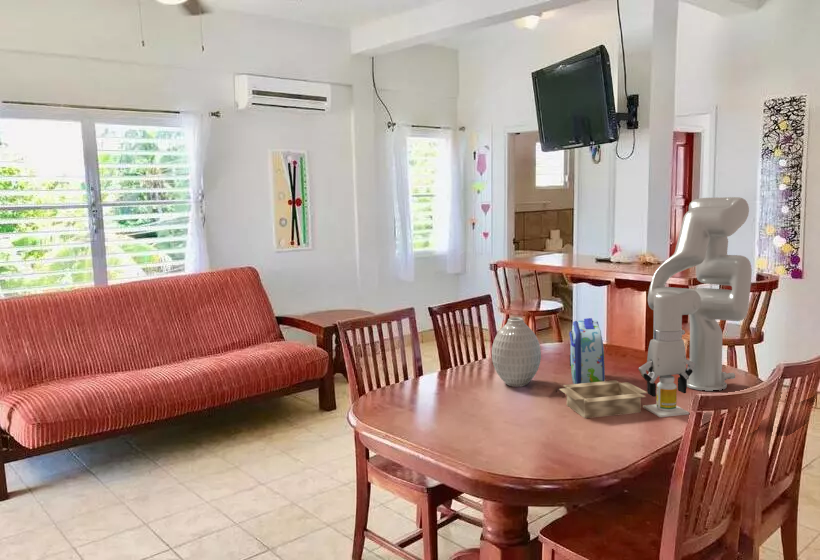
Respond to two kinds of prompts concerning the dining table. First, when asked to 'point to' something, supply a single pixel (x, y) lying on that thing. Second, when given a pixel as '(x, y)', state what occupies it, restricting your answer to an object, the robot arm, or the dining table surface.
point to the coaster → (665, 413)
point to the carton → (603, 398)
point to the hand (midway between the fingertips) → (666, 393)
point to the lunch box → (586, 352)
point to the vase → (516, 353)
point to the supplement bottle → (666, 393)
